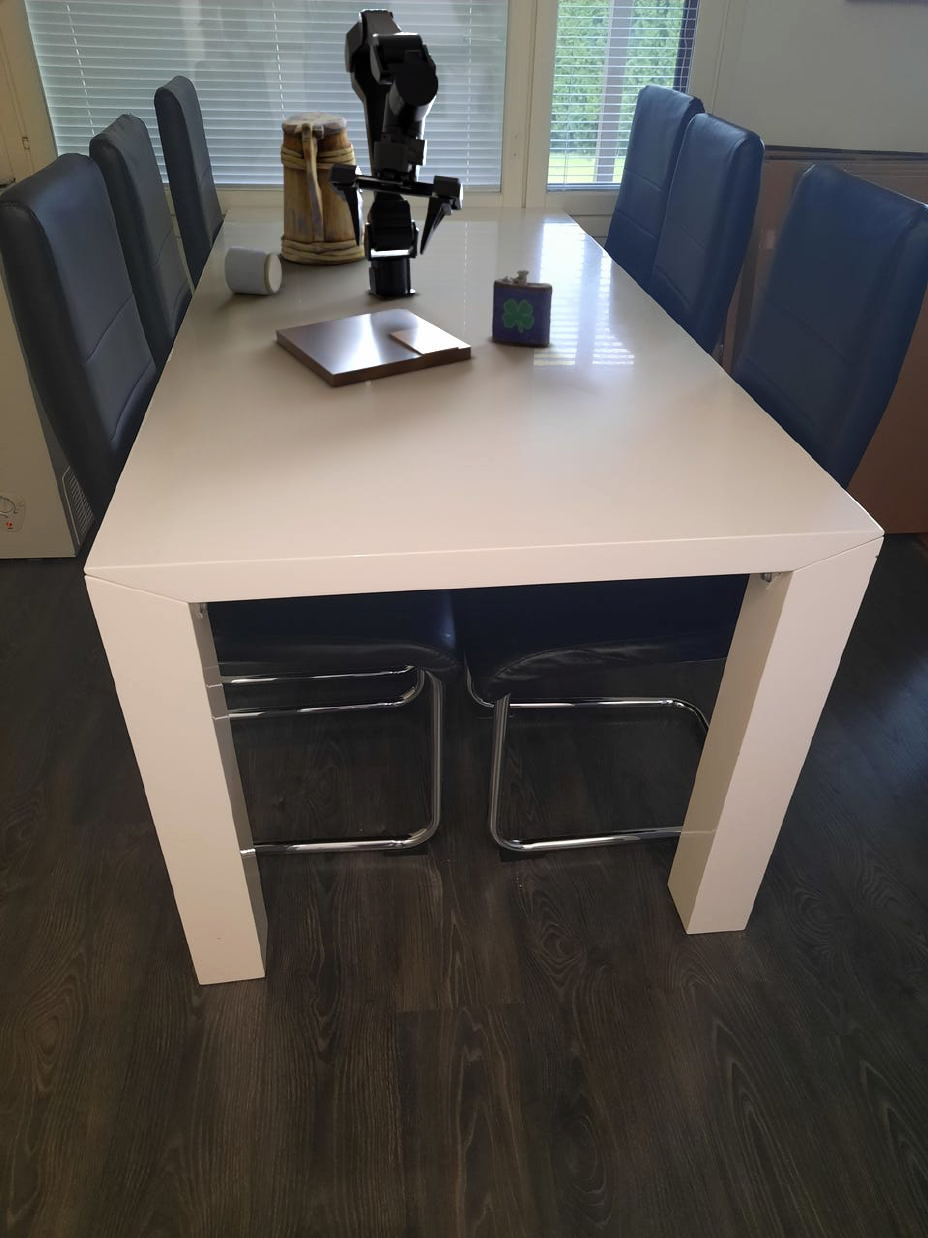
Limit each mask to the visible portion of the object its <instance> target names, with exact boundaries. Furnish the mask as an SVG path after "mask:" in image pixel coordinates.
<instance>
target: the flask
mask: <svg viewBox="0 0 928 1238" xmlns="http://www.w3.org/2000/svg"><path fill="white" fill-rule="evenodd" d="M529 273H530V271H529V270H526V269H523V270H518V271H517V274H518V276H517V277H515V278H514V277H511V276H508V275H506V276H504V277H503V278H497V279H495V280H494V282H493V286H492V287H493V289H492V290H493V291H492V293H493V294H492V318H491V319H492V320H491V321H492V322H491V339H492V342H495V343H499V344H505V345H511V346H519V347H520V346H521V347H530V348H531V347H532V348H547V347H549V345H550V340H551V323H552V321H551V319H552V318H551V316H552V314H551V313H552V301H553V300H552V299H553V298H552V297H553V289H554V288H553V286H552V284H551V283H547V282H529V281H528V279H527V275H529Z"/></svg>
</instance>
